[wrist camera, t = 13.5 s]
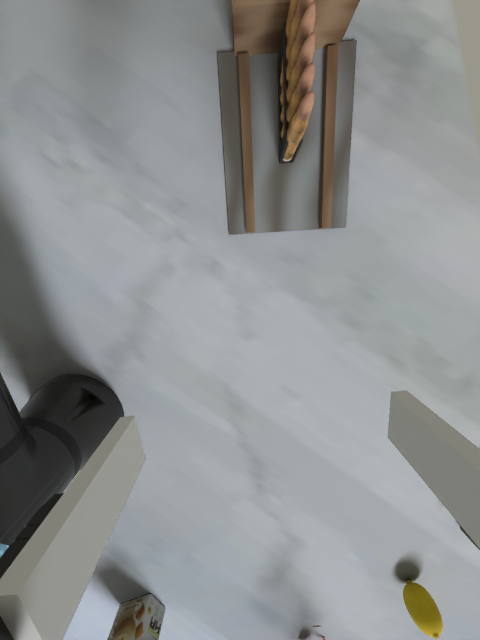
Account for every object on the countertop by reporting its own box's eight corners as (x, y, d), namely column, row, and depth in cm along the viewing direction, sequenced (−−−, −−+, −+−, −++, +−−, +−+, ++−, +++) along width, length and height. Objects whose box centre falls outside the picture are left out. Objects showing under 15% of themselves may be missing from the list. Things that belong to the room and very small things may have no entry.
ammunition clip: (277, 60, 27) (300, -83, 16) (293, 58, 27) (328, -87, 16) (279, 164, 30) (300, 107, 19) (293, 163, 30) (323, 105, 19)
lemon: (396, 572, 50) (423, 629, 43) (423, 571, 50) (455, 628, 42) (393, 589, 52) (419, 647, 44) (419, 588, 52) (450, 647, 44)
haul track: (229, 234, 33) (225, 230, 27) (215, 16, 27) (206, -49, 21) (344, 227, 32) (366, 221, 27) (357, 3, 26) (389, -68, 20)
